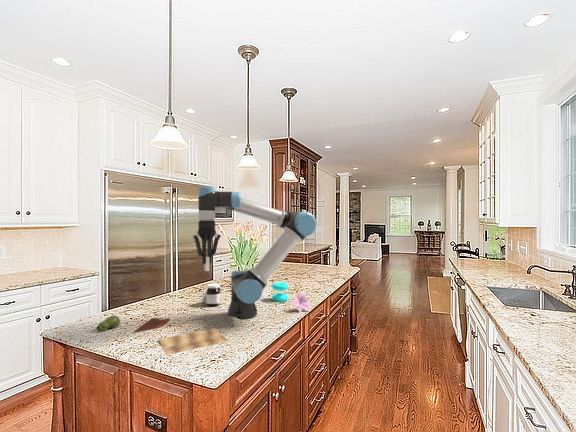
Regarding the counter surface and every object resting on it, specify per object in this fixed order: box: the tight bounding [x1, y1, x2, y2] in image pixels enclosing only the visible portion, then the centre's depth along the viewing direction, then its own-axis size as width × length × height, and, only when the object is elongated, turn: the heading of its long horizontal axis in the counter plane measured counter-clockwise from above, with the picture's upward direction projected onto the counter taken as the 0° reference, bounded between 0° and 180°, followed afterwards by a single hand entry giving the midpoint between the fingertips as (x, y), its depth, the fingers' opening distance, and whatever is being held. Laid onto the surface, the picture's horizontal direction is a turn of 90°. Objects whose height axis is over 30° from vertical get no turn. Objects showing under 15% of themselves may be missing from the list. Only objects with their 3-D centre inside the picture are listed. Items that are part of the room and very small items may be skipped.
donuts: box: [271, 282, 289, 302], centre depth 199 cm, size 10×10×10 cm
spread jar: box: [201, 283, 222, 307], centre depth 189 cm, size 12×11×12 cm
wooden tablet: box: [132, 317, 171, 334], centre depth 149 cm, size 27×10×2 cm, turn 177°
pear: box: [96, 315, 121, 333], centre depth 149 cm, size 6×5×10 cm
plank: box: [158, 327, 222, 349], centre depth 135 cm, size 24×8×1 cm, turn 123°
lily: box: [290, 290, 312, 314], centre depth 178 cm, size 12×12×10 cm
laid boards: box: [162, 334, 229, 356], centre depth 128 cm, size 24×7×1 cm, turn 123°
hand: (206, 270), depth 151 cm, fingers closed
